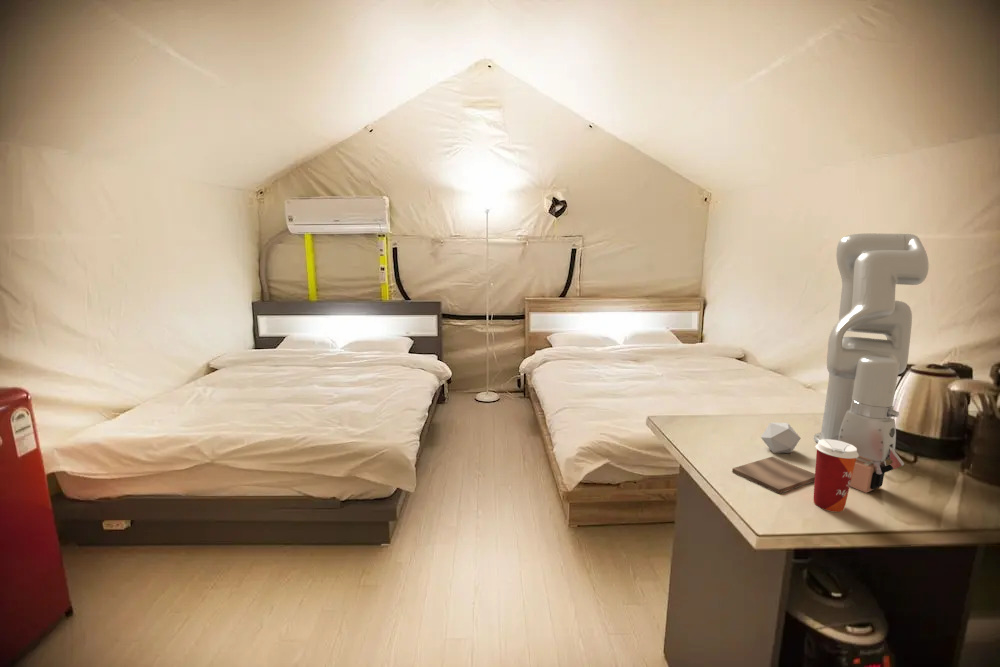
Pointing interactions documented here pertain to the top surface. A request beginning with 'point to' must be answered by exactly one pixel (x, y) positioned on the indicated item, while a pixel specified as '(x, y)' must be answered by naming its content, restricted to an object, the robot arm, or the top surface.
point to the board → (775, 474)
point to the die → (780, 437)
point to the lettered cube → (862, 474)
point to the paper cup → (833, 473)
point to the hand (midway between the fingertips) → (859, 480)
